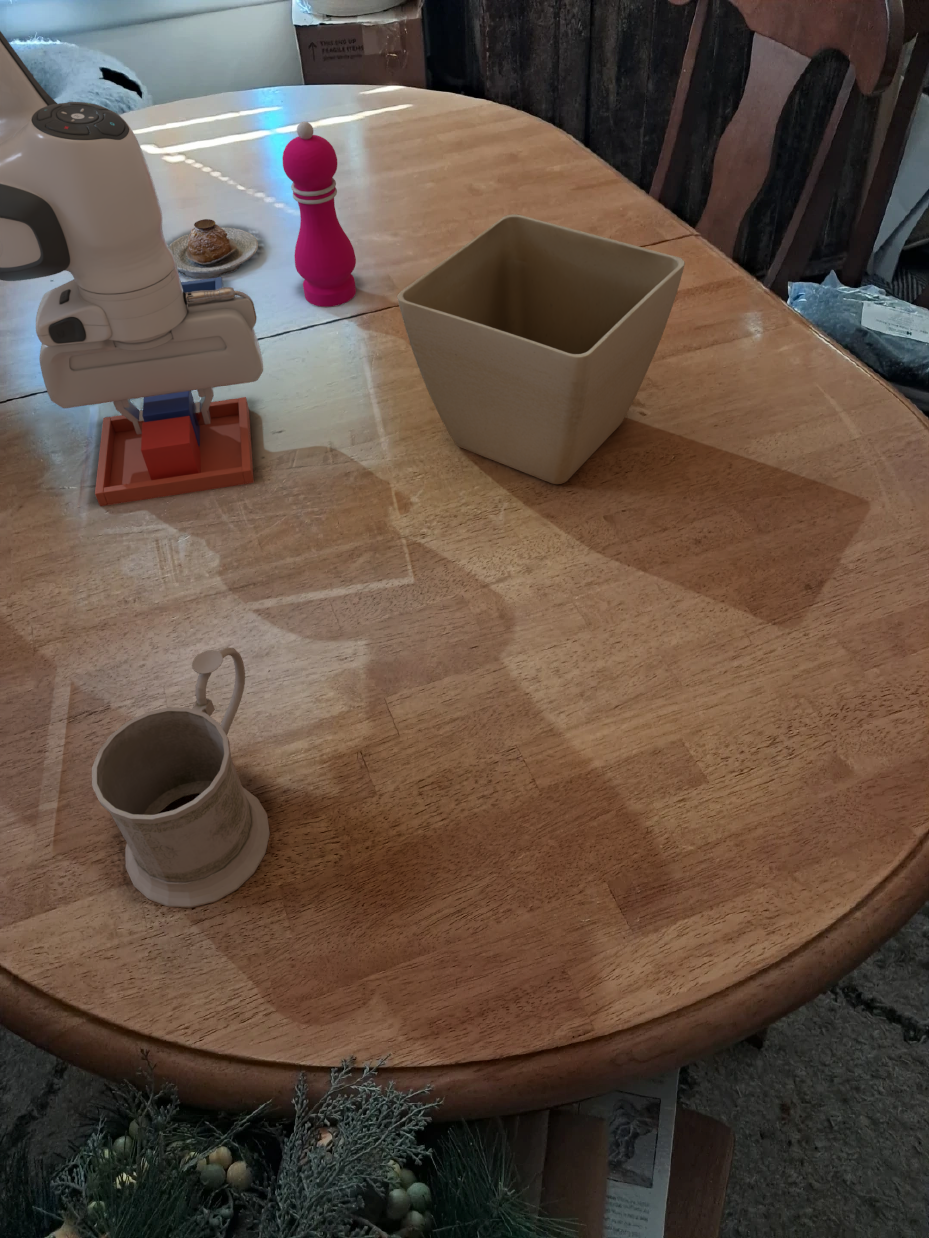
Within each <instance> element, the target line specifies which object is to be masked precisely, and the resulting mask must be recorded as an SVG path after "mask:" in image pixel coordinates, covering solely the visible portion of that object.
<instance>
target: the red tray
mask: <svg viewBox="0 0 929 1238" xmlns="http://www.w3.org/2000/svg"><path fill="white" fill-rule="evenodd" d="M247 399H248V398H247V396H241V397H237V398H228V399H222V400H217V401H216V400H215V401H211V404H210V406H209V412H210V422H211V424H207V425H200V446H199V449H200V453H201V473H196V474H190V475H183V476H177V477H170V478H164V479H157V480H151V478H150V475H149V472H148V469H147V466H146V463H145V461H144V458H143V455H142V452H141V439H142V434H138V435H137V434H136V431H135V428H134V425H133V422H131V421H129V420H128V419H127V418H126V417H124V416H123V415H122V414H119V415H112V416H106V417H105V416H104V417H102V424H101V425H102V427H101V435H100V444H99V453H98V462H97V471H96V480H95V490H94V496H95V498H96V500H97V502H98V503H97V504H98V505H99V507H106V506H111V505H118V504H126V503H132V502H138V501H145V500H151V499H152V500H153V499H158V498H165V497H172V496H177V495H183V494H192V493H197V492H203V491H210V490H217V489H224V488H229V487H237V486H242V485H243V486H244V485H249V484H254V482H255V479H254V466H253V465H254V464H253V450H252V433H251V420H250V407H249V404H248V400H247Z"/></svg>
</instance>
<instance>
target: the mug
mask: <svg viewBox="0 0 929 1238" xmlns="http://www.w3.org/2000/svg"><path fill="white" fill-rule="evenodd" d="M228 656H230V657H231V658H232V661H233V666H234V673H235V674H234V686H233V690H232V695H231V698H230V700H229V702H228V706H227V708H226V710H225V713H224V716H223V718H222V719H221V722H218V721H217V720H216V719H215V718H213V717H212V714H214V711H215V709H216V708H215V706H214V703H213V700H212V699H209V698H207V687H208V682H209V679H210V677H211V675H212V673H213V672H215V671H217V670H218V669H219V668H220V667H221V666H222V664H223V661H224V659H225V658H226V657H228ZM191 667H192V670H193V671H194V673H196V674H198V676H197V679H196V683H195V699H196V700H195V701H194V703H193V704H192V706H193V707H170V706H169V707H163V708H159V709H154V710H150V711H147V712H145V713H143V714H140V715H138V716H135V717H134V718H132V719H130V720H128V721H126V722H125V723H124V724H123V725H121V726H120V727H118V728H117V729H116V730H115V731H113V732H112V733H111V734H110V735H109V736H108V738H107V739H106V740H105V742H104V743H103V744H102V745H101V747H100V748H99V749H98V751H97V754H96V757H95V759H94V762H93V764H92V767H91V787H92V789H93V792H94V794H95V796H96V797H97V800H98V802H99V804H100V806H101V807H102V808H104V809H105V810H106V811H107V812H108V813H110V815H111V817H112V819H113V821H114V823H115V824H116V826H117V828H118V829H119V831H120V833H121V836H122V837H123V839H124V841H125V842H126V845H125V848H124V849H125V853H124V854H125V855H124V857H125V870H126V872H127V874H128V876H129V879H130V881H131V883H132V885H133V887H134V888H136V890H137V891H138V892H140V893H141V894H142V896H144V897H145V898H146V899H147V900H149V901H152V902H155V903H157V904H159V905H162V906H165V907H168V908H189V909H191V908H195V907H199V906H203V905H208V904H211V903H216V902H217V901H219V900H221V899H223V898H225V897H226V896H228V895H230V894H231V893H233V892H235V891H238V889H239V888H241V886H242V885H243V884H244V883H246V882H247V881H248V880H249V879H250V878H251V877H252V876H253V875H254V874H255V872H256V871H257V869H258V867H260V866H259V865H260V864H261V862H262V861H263V859H264V857H265V855H266V853H267V850H268V849H267V848H268V843H269V840H270V836H271V833H270V826H269V818H268V813H267V812H266V810H265V809H264V806H263V805H262V803H261V802H260V800H259V798H258V797H257V796H255V795H253V793H251V792H250V791H248V789H246V788H245V787H243V785H242V783H241V780H240V778H239V777H240V776H239V775H238V774H239V773H238V772H237V769H236V767H235V764H234V760H233V758H232V754H231V746H230V745H231V744H230V739H229V737H228V734H229V731H230V729H231V726H232V724H233V721H234V719H235V717H236V714H237V712H238V710H239V707H240V704H241V701H242V698H243V695H244V690H245V683H246V670H245V664H244V659H243V657H242V656H241V654H240V652H238V651H237V650H236V648H235V647H228V646H227V647H224V648H221V649H218V650H214V649H211V650H209V649H208V650H205V651H202V652H200V653H199V654H197V655H196V656H195V657H194V658H193V661H192V664H191ZM196 794H197V796H196V797H195V798H194V799H192V800H191V801H189V802H187V803H185V804H183V805H180V806H179V807H177V808H175V809H171V810H169V811H164V809H166V808H167V807H168V806H169V805H170V804H172V803H174V802H176V801H178V800H179V799H181V798H183V797H188V796H192V795H196ZM198 794H199V795H198ZM162 811H164V812H162Z"/></svg>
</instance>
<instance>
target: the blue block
mask: <svg viewBox="0 0 929 1238" xmlns="http://www.w3.org/2000/svg"><path fill="white" fill-rule="evenodd" d="M193 403H195V400H194V396H193V393H192V391H185V392H178V393H171V394H164V395H157V396H150V397H143V401H142V410H143V414H142V416H143V419H144V422H150V421H157V420H164V419H170V418H177V417H184V416H190V419H191V423H192V426H193V429H194V433H195V436H196V439H197V443H198V446H200V425H199V426H196V423H195V419H194V416H193Z"/></svg>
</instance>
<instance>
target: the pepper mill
mask: <svg viewBox="0 0 929 1238" xmlns="http://www.w3.org/2000/svg"><path fill="white" fill-rule="evenodd" d="M296 133H297V136H295V138H292V139H291V140H289V142H288V143H287V144H286V146H285V148H284V149H283V152H282V168H283V171H284V174H285V175H286V176H287V178H288V179H289V180H290V181H291V182H292V183H291V186H290V187H291V191H292V198H293V200H294V201H295V202H297V205H298V208H299V216H300V217H299V218H300V221H299V223H300V225H299V231H298V234H297V239H296V243H295V247H294V266H295V270H296V272H297V273H298V274H299V276H300V277H301V278H302V279H304V280H303V281H302V289H303V294H304V299H305V300H306V301H307V302H308V303H309V304H311V305H312V306H315V307H321V308H332V307H333V308H334V307H336V306H341V305H343V304H346V303H348V302H350V301H352V300H353V299H354V297H355V296H356V293H357V288H356V281H355V277H354V275H353V274H352V273H353V271H354V270H355V267H356V265H357V258H356V252H355V249H354V247H353V244H352V242H351V240H350V239H349V236H348V235H347V234H346V233H345V231H344V229H343V227H342V225H341V223H340V221H339V218H338V216H337V215H338V214H337V211H336V205H335V197H336V196H337V194H338V189H337V188H336V185H337V182H336V180H335V178H334V176H335V175H336V172H337V170H338V156H337V153H336V150H335V148H334V146H333V145H332V143H330V141H328V140H327V139H326V138H324V137H322V136H320V135H317V134H314V127H313V125H312V124H311V123H310V122H308V121H301V122H299V123H298V125H297V127H296Z"/></svg>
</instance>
